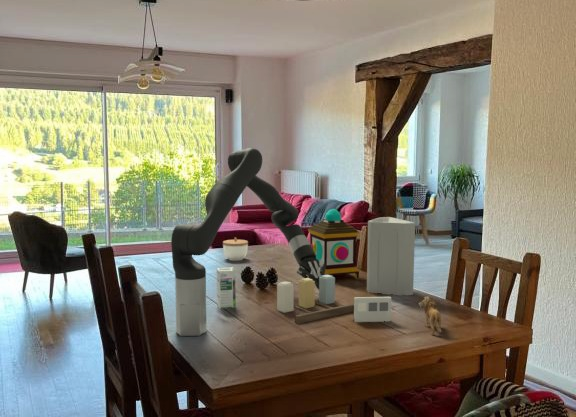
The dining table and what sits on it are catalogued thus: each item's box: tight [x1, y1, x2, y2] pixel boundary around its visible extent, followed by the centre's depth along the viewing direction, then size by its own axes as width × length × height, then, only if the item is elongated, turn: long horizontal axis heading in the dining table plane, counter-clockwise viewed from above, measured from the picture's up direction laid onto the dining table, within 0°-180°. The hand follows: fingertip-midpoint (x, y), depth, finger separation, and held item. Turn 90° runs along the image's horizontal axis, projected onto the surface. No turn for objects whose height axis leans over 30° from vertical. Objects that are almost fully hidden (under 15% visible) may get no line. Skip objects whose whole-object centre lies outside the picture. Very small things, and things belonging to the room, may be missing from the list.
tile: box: [353, 296, 392, 323], centre depth 183 cm, size 1×12×8 cm, turn 94°
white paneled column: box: [366, 216, 416, 296], centre depth 222 cm, size 19×15×28 cm
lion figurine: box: [418, 296, 443, 336], centre depth 175 cm, size 15×5×9 cm, turn 7°
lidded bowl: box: [222, 237, 249, 262], centre depth 283 cm, size 13×13×11 cm
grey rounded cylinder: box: [318, 275, 336, 305], centre depth 201 cm, size 4×4×10 cm
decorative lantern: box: [307, 208, 360, 280], centre depth 245 cm, size 20×20×30 cm
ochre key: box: [298, 277, 316, 309], centre depth 196 cm, size 4×4×10 cm
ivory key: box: [276, 281, 295, 313], centre depth 191 cm, size 4×4×10 cm
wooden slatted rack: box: [293, 301, 354, 325], centre depth 193 cm, size 20×28×4 cm
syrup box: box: [216, 266, 237, 310], centre depth 196 cm, size 6×6×14 cm
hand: (321, 288), depth 203 cm, fingers closed
